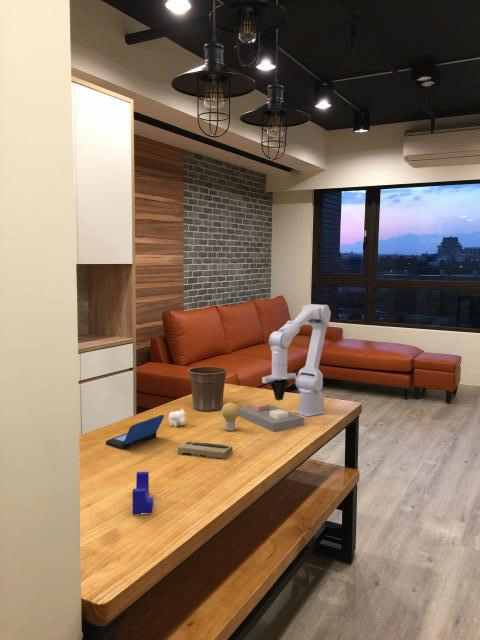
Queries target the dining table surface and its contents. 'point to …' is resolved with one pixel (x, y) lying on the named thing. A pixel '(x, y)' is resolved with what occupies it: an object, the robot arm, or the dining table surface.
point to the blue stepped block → (142, 494)
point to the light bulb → (230, 415)
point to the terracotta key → (260, 406)
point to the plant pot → (207, 387)
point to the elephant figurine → (177, 418)
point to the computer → (205, 450)
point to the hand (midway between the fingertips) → (279, 399)
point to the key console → (270, 418)
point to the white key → (278, 414)
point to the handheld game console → (137, 433)
